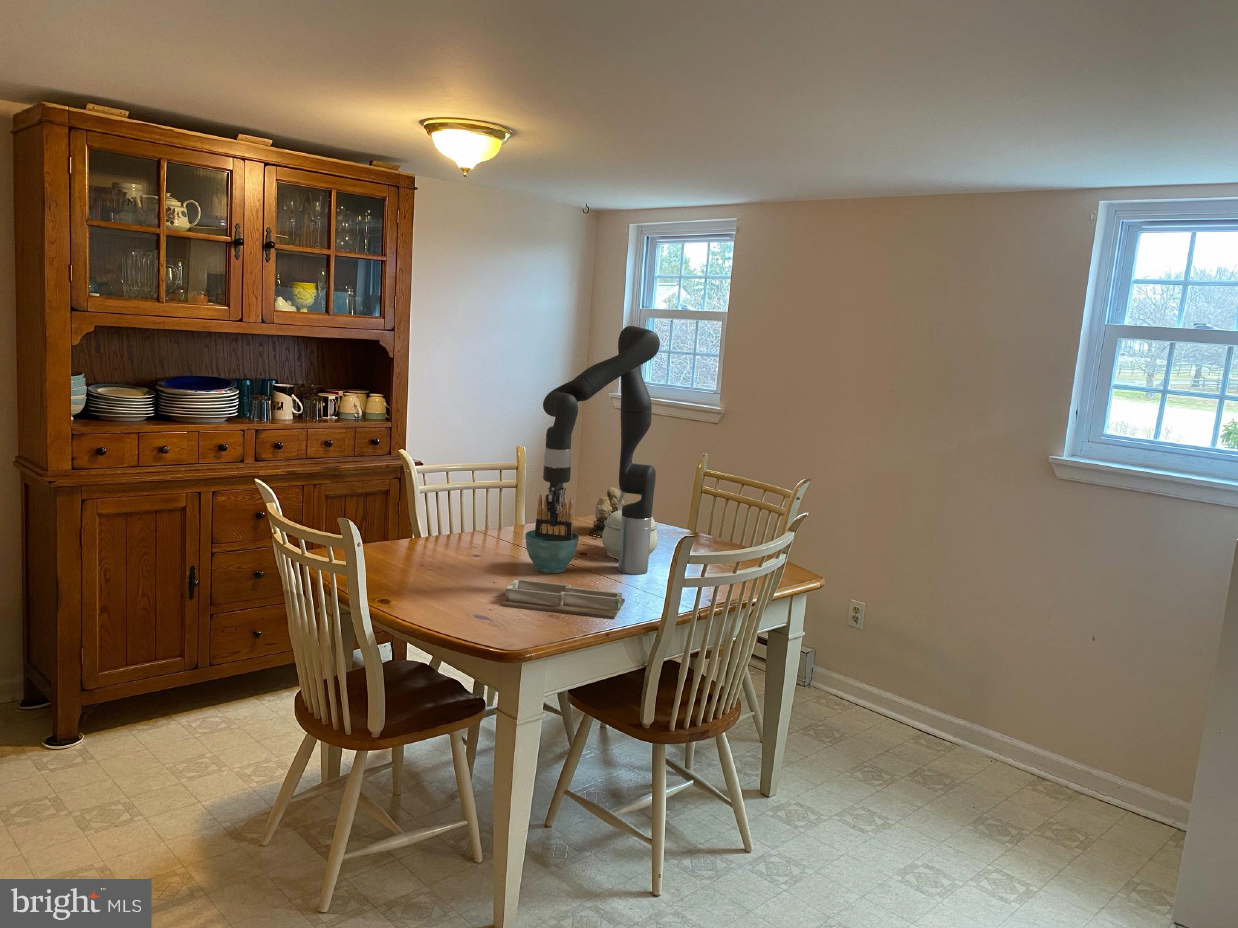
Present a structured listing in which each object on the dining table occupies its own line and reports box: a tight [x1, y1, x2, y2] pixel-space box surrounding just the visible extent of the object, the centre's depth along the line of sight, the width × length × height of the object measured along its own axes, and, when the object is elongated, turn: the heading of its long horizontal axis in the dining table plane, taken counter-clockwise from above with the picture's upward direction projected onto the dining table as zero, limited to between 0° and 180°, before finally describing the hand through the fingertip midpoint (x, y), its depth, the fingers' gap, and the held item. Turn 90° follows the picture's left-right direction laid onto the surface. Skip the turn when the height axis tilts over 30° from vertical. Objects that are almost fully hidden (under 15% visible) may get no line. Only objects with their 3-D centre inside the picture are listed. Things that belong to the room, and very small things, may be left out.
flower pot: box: [524, 529, 580, 574], centre depth 279 cm, size 16×16×11 cm
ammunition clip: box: [534, 494, 574, 540], centre depth 257 cm, size 11×2×12 cm, turn 80°
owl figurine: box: [588, 487, 625, 537], centre depth 333 cm, size 18×12×17 cm, turn 158°
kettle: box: [601, 491, 659, 560], centre depth 302 cm, size 25×18×25 cm
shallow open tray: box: [501, 578, 626, 620], centre depth 246 cm, size 16×30×4 cm, turn 80°
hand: (554, 524), depth 258 cm, fingers closed on ammunition clip, 2 cm apart
